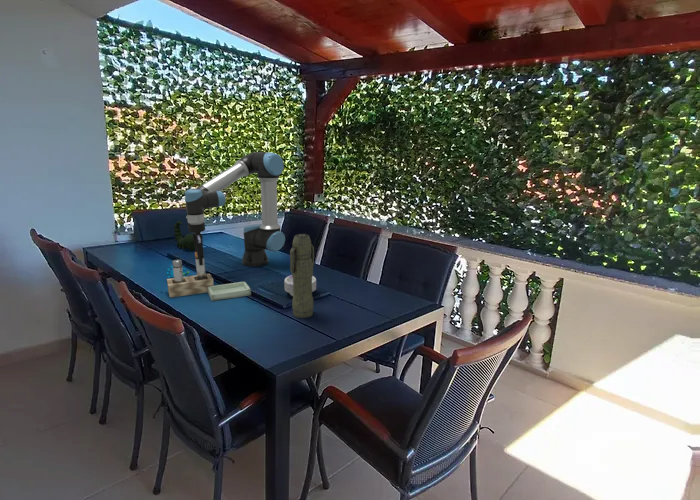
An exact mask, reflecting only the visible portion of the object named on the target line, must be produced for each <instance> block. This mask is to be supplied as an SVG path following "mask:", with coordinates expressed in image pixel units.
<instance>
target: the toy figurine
mask: <svg viewBox="0 0 700 500" xmlns="http://www.w3.org/2000/svg"><path fill="white" fill-rule="evenodd" d="M180 225H181V226H182V225H183V223H182V221H180V220H178V221H176V222H175V224H174V225H172V227H173V228H174V229H172V231H173V232H175V233H173V236H175V238H174V241H176V242H177V243H176V246H177V247H179V249H180V250H186V249H188V250H189V251H190V252H195V246H194V239H193V233H189V234H186V235H184V236H183V235H182V234H183V233H182V232H181V231H182V230H181V228H180Z"/></svg>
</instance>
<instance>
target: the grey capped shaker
mask: <svg viewBox="0 0 700 500" xmlns="http://www.w3.org/2000/svg"><path fill="white" fill-rule="evenodd" d="M182 261H183V260H181V259H174V260H172V266H173V271H174V281H175V283H182V282H184V281H183V272H184V271H183V270H182V269H183V262H182Z"/></svg>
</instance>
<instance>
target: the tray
mask: <svg viewBox="0 0 700 500" xmlns="http://www.w3.org/2000/svg"><path fill="white" fill-rule="evenodd" d="M207 288H208V292H207V294H208V295H209V298H210V300H211V302H216V301H221V300H222V301H223V300H228V299H229V300H230V299H234V298H242V297H247V296H248V297H249V296H252V289H251V288H250V286H249V284H247V282H246V281H239V282H238V281H237V282H233V283H232V282H231V283H225V284H218V285H217V284H216V285H214V286H209V287H207Z"/></svg>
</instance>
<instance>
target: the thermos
mask: <svg viewBox="0 0 700 500" xmlns="http://www.w3.org/2000/svg"><path fill="white" fill-rule="evenodd" d="M314 267H315V247H314V245H313V244H312V240H311V238H310V235H308V234H307V233H297V234H295V235H294V237H293V239H292V247H291V248H290V250H289V268H290V273H291V275H292V277H293V296H292V297H293V298H292V301H291V303H292V304H291V305H292V306H291V307H292V315H293V316H294V317H295V318H298V319H307V318H310V317H312V316H313V315H314V298H313V292H312V276H314Z"/></svg>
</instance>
